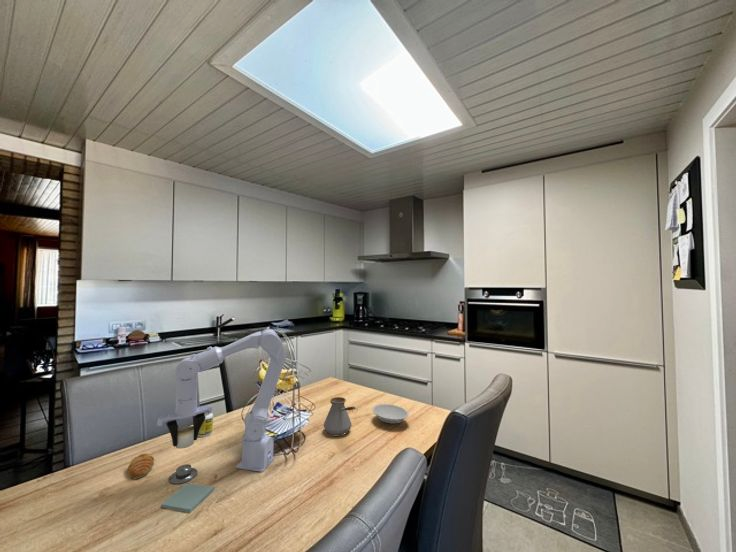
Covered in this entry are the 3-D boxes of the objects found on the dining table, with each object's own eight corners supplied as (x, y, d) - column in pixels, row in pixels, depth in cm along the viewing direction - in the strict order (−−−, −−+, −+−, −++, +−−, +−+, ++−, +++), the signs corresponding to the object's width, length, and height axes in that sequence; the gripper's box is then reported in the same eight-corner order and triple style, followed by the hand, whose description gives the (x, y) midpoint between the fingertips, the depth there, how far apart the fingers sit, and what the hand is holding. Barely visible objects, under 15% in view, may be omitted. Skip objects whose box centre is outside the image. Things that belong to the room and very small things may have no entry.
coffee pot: (319, 428, 126) (320, 392, 126) (344, 423, 131) (345, 388, 132) (340, 453, 107) (340, 410, 108) (368, 445, 113) (368, 405, 113)
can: (194, 445, 92) (195, 430, 93) (175, 450, 90) (176, 434, 90) (193, 439, 97) (193, 424, 97) (175, 443, 94) (175, 428, 94)
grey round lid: (203, 470, 96) (203, 462, 96) (184, 486, 88) (184, 477, 88) (182, 467, 97) (182, 459, 97) (162, 482, 90) (162, 473, 90)
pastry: (153, 476, 93) (153, 463, 93) (125, 484, 89) (126, 471, 89) (153, 461, 101) (154, 449, 101) (128, 468, 97) (128, 456, 97)
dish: (416, 425, 130) (416, 413, 130) (391, 435, 121) (391, 422, 122) (389, 412, 144) (389, 401, 144) (365, 419, 135) (365, 408, 136)
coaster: (214, 490, 87) (214, 487, 87) (190, 512, 78) (190, 509, 78) (187, 485, 88) (187, 482, 88) (160, 507, 80) (160, 504, 80)
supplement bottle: (205, 438, 116) (206, 412, 117) (193, 436, 118) (194, 410, 118) (215, 431, 122) (216, 407, 122) (203, 430, 123) (204, 405, 123)
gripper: (207, 389, 102) (206, 430, 101) (156, 399, 92) (154, 445, 91) (214, 394, 97) (213, 437, 96) (160, 406, 87) (158, 454, 86)
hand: (184, 442), depth 93 cm, fingers closed on can, 5 cm apart
